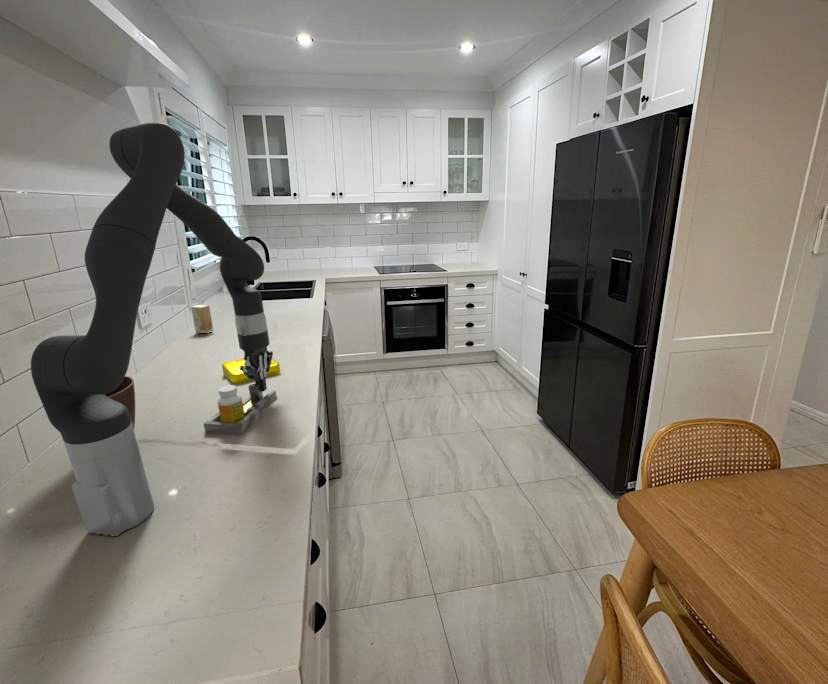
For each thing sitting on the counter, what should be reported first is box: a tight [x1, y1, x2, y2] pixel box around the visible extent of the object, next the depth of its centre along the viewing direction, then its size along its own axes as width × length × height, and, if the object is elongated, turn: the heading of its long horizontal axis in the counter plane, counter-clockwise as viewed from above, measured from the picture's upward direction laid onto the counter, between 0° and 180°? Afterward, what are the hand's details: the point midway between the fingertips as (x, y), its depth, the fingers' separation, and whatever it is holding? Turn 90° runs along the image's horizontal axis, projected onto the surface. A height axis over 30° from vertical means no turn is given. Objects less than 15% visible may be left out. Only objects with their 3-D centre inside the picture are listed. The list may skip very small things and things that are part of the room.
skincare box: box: [190, 304, 214, 334], centre depth 187 cm, size 6×4×12 cm
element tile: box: [221, 357, 282, 384], centre depth 138 cm, size 15×15×5 cm
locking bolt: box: [243, 383, 262, 417], centre depth 110 cm, size 8×2×6 cm, turn 169°
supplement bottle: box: [217, 384, 245, 423], centre depth 103 cm, size 5×5×10 cm
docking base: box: [203, 390, 277, 436], centre depth 110 cm, size 24×13×3 cm, turn 169°
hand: (261, 390), depth 116 cm, fingers closed
